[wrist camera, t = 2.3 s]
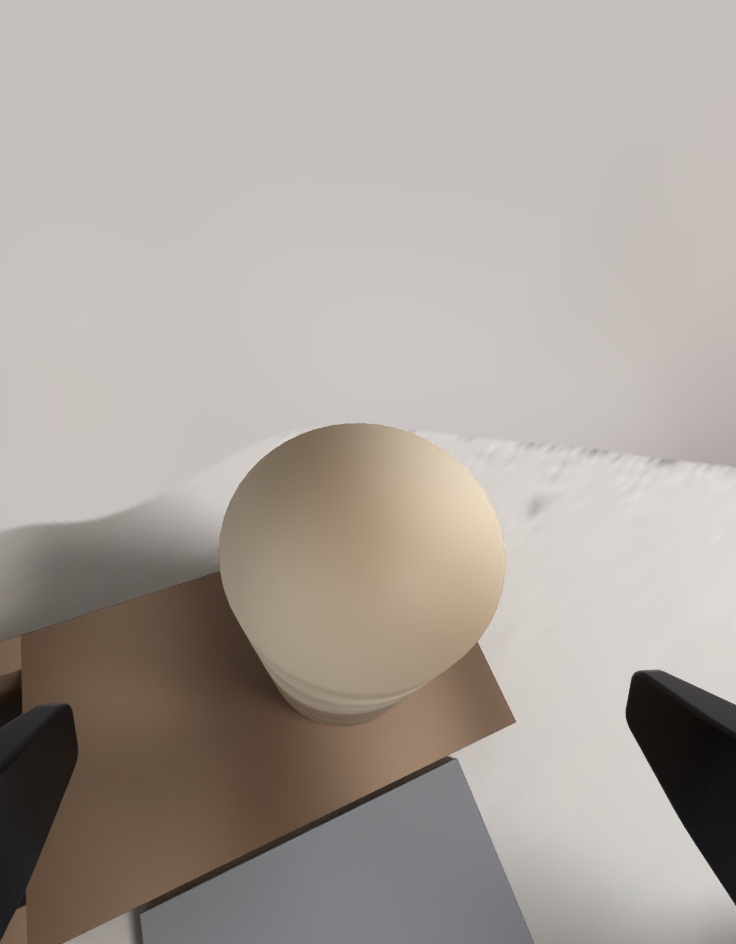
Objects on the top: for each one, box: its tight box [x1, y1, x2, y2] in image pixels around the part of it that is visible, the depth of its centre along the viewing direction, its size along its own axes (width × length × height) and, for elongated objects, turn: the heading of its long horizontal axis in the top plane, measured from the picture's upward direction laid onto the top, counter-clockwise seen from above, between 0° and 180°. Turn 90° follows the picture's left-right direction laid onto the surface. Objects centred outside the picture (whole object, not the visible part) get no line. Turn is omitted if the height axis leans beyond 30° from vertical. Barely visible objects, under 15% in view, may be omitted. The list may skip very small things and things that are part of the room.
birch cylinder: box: [219, 423, 506, 727], centre depth 11 cm, size 5×5×8 cm
